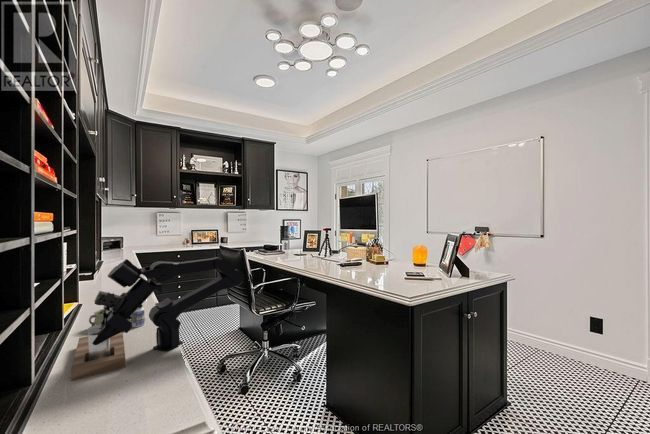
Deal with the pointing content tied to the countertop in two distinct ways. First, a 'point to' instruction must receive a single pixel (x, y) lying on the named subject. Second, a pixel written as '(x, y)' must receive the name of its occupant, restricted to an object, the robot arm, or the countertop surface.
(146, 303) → the white supplement bottle
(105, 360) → the plate
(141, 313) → the pill bottle
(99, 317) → the vessel
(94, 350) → the silver cylindrical piece
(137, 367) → the countertop surface
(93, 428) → the countertop surface
